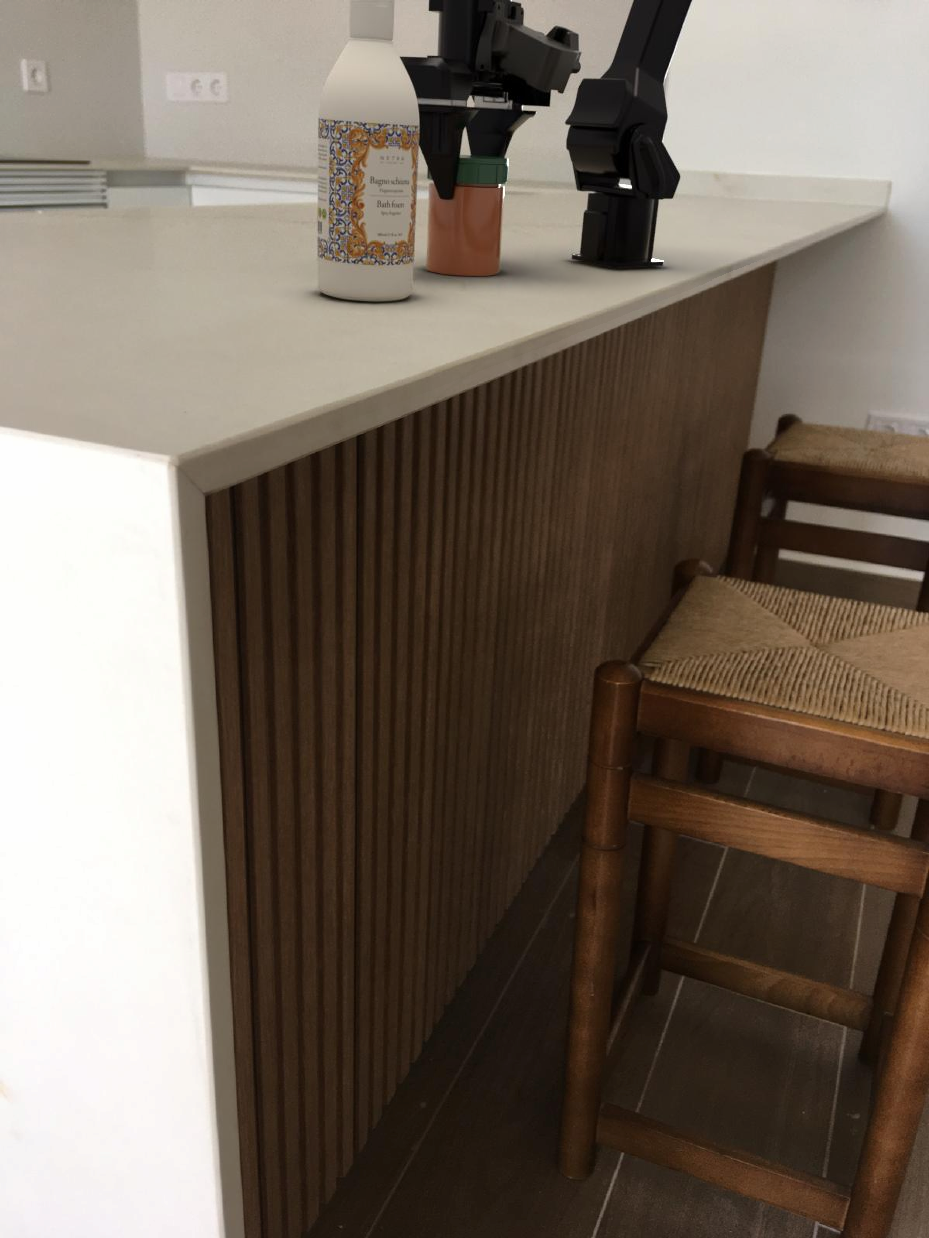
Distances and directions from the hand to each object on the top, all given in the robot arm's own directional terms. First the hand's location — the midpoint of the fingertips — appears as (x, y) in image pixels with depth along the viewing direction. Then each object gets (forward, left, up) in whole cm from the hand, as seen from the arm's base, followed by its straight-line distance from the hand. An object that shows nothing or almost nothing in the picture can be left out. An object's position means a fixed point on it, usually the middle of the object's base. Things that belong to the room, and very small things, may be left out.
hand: (466, 198), depth 91 cm
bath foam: (+15, +9, -6) cm, 18 cm away
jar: (0, 0, -6) cm, 6 cm away
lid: (0, 0, +3) cm, 3 cm away
